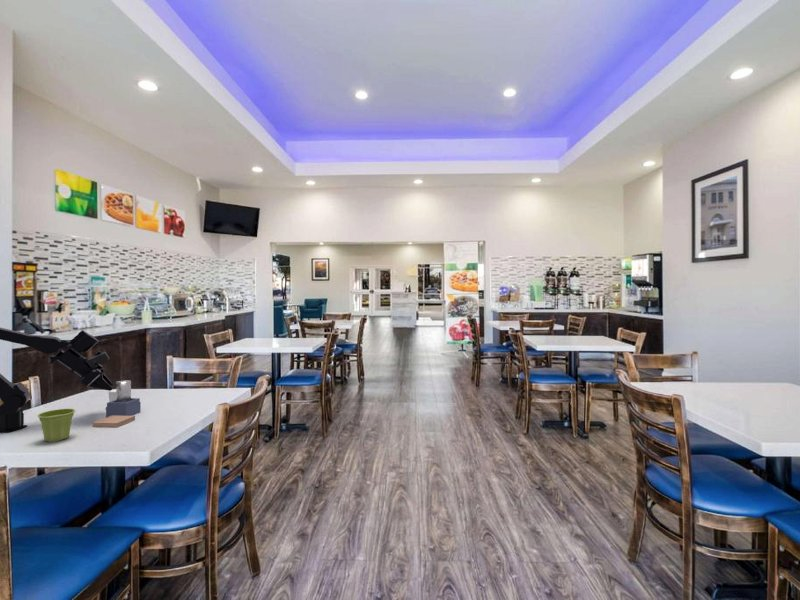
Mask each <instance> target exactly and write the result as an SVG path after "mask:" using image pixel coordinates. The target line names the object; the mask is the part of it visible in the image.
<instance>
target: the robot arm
mask: <svg viewBox="0 0 800 600" xmlns="http://www.w3.org/2000/svg"><path fill="white" fill-rule="evenodd" d="M0 340H1V341H4V342H10V343H12V344H13V343H14V344H18V345H23V346H27V347H29V348H31V349H34V350H35V351H38V352H41V353H44V354H46V355H50V354H54V353H56V354H55V355H50V356H49V359H50V362H49V363H50V365H53V364H54V363H56V361H58V362H59V363H60V364H62V365H63V366H65V367H66V368H68V369H69V371H70V372H72V373H75V374H77V375H78V376H79V377H80V379H81V384H83V385H84V386H85V387H89V388H90V387H91V388H94V389H95V388H96V389H100V390H105V391H111V390H114V389H113V387H112V386H114V383H112V381H111V380H110V379H109V378H108V377H107V375H106V374H105V372H104V371H105V368H104V367H103V365H102V363H105V362H108V361H110V359H111V358H110V357H109V355H108V353H107V352H106V351H103V352H102V351H101V350H99V351H97V352H95V354H94V356H92V357H91V358H88V357H87V356H85V357H84V356H83V355H81V353H83V352H84V353H87V352H89V351H90V350H91V349H92V348H93V347H94V346H95V345H97V344H99V340H98V338H96V337H95V336H94V335H92V334H90V333H88V332H86V331H85V330H83V329H81V331H79V332H78V333H77V335H75V336H74V337H73V338H72V339H71V340H69V339H60V338H59V337H57V336H54V335H53V336H49V335H40V334H39V335H37V334H29V333H26V332H21V331H17V330H13V329H9V328H4V327H0ZM70 345H71V346H70ZM68 346H69V347H68ZM67 347H68V348H67ZM65 348H67V349H66V350H63V349H65ZM59 350H60V351H59ZM57 351H58V352H57ZM29 391H30V388H28V387H26V386H25V385H24V384H23V382H21V381H19V382H17V383H14V382H13V381H10V380H8V378H6V377H5V376H4V375H3V374H1V373H0V400H1V401H2V403H1V405H0V433H10V432H14V431H18V430H20V429H24V428H26V427H28V425H27V424H25V417H24V416H25V415H24V409H22V408H23V406H25V405H26V403H27V402H29V401H30V398H31V394H30V392H29ZM24 424H25V425H24Z"/></svg>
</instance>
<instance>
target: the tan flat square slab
mask: <svg viewBox="0 0 800 600" xmlns="http://www.w3.org/2000/svg"><path fill="white" fill-rule="evenodd" d="M135 420H136V416H135V415H131V416H117V415H112V416H109V417H104V418H102V419H99V420H97V421H93V422H92V427H93V428H119V427H121V426H124V425H126V424H128V423H130V422H133V421H135Z"/></svg>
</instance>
